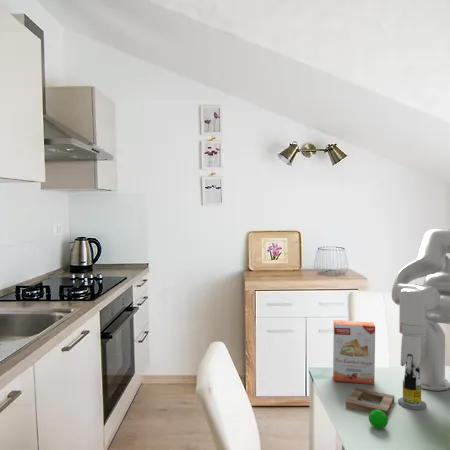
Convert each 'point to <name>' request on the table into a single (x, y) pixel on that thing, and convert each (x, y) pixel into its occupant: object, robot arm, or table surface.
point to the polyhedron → (378, 419)
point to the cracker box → (354, 352)
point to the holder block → (358, 394)
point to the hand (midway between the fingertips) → (412, 384)
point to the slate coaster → (420, 407)
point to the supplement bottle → (413, 393)
